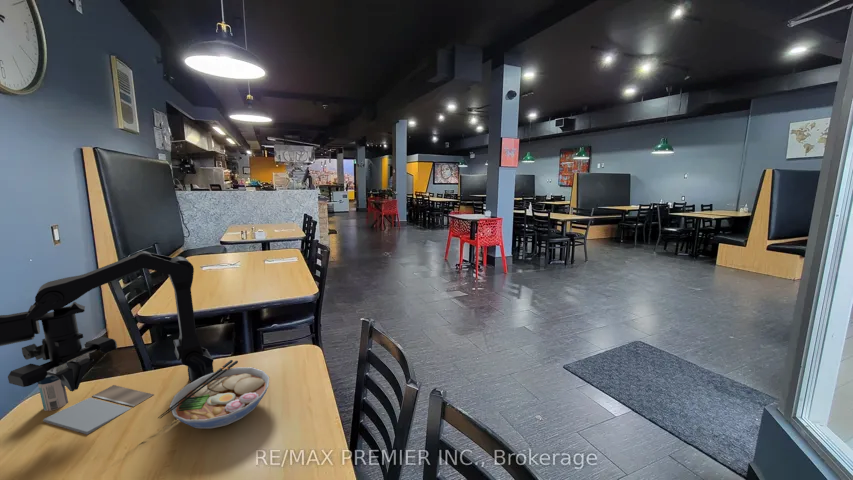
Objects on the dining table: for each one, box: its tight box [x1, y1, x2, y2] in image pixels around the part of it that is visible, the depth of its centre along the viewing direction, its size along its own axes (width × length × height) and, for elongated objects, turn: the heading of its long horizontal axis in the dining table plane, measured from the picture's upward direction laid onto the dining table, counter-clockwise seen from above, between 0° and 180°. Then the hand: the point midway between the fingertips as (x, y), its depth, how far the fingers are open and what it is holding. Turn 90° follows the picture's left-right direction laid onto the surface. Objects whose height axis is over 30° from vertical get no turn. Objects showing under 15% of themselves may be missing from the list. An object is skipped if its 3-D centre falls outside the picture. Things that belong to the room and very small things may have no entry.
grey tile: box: [42, 397, 132, 435], centre depth 92 cm, size 16×10×1 cm, turn 74°
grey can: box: [37, 375, 69, 412], centre depth 94 cm, size 5×5×12 cm
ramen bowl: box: [157, 359, 270, 429], centre depth 93 cm, size 25×23×8 cm
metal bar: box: [91, 384, 155, 408], centre depth 100 cm, size 16×6×2 cm, turn 74°
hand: (73, 390), depth 88 cm, fingers closed
